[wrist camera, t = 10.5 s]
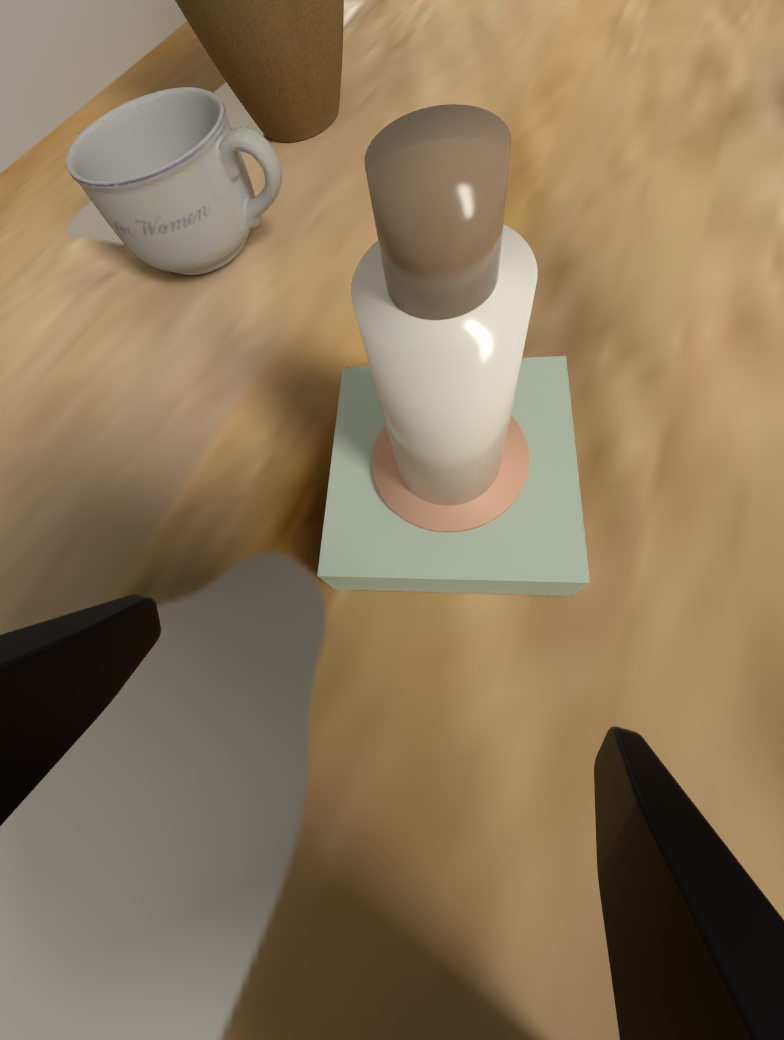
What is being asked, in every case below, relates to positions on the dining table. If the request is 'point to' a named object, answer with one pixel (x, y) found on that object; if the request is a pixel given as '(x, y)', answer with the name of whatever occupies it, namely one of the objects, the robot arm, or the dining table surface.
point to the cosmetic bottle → (444, 297)
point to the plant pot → (276, 59)
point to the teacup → (175, 178)
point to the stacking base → (465, 527)
